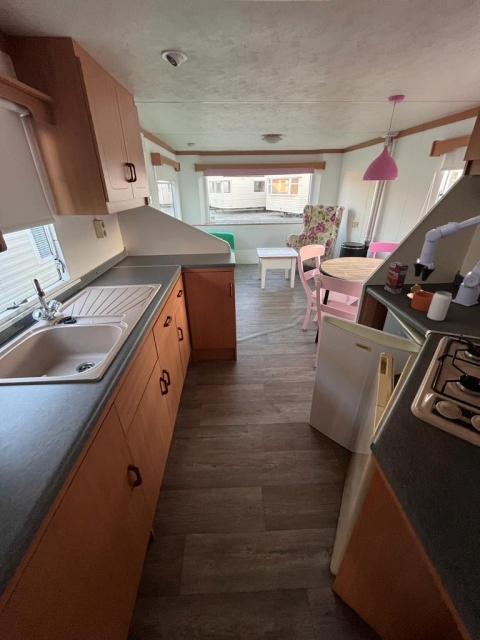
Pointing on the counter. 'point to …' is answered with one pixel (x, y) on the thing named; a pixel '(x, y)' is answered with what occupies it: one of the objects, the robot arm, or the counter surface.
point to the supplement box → (396, 277)
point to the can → (439, 305)
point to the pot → (422, 301)
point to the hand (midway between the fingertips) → (420, 278)
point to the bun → (415, 288)
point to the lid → (413, 294)
